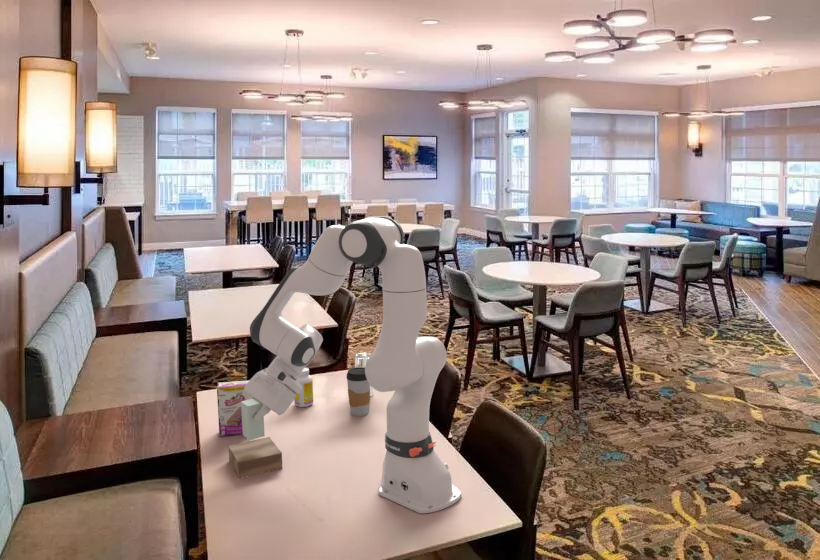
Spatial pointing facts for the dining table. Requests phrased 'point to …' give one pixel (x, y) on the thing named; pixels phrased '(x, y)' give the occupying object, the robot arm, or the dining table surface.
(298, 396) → the supplement bottle
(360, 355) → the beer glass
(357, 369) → the coffee cup
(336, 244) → the robot arm
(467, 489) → the dining table surface
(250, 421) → the sage pillar
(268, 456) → the walnut block
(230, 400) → the candy bar box
